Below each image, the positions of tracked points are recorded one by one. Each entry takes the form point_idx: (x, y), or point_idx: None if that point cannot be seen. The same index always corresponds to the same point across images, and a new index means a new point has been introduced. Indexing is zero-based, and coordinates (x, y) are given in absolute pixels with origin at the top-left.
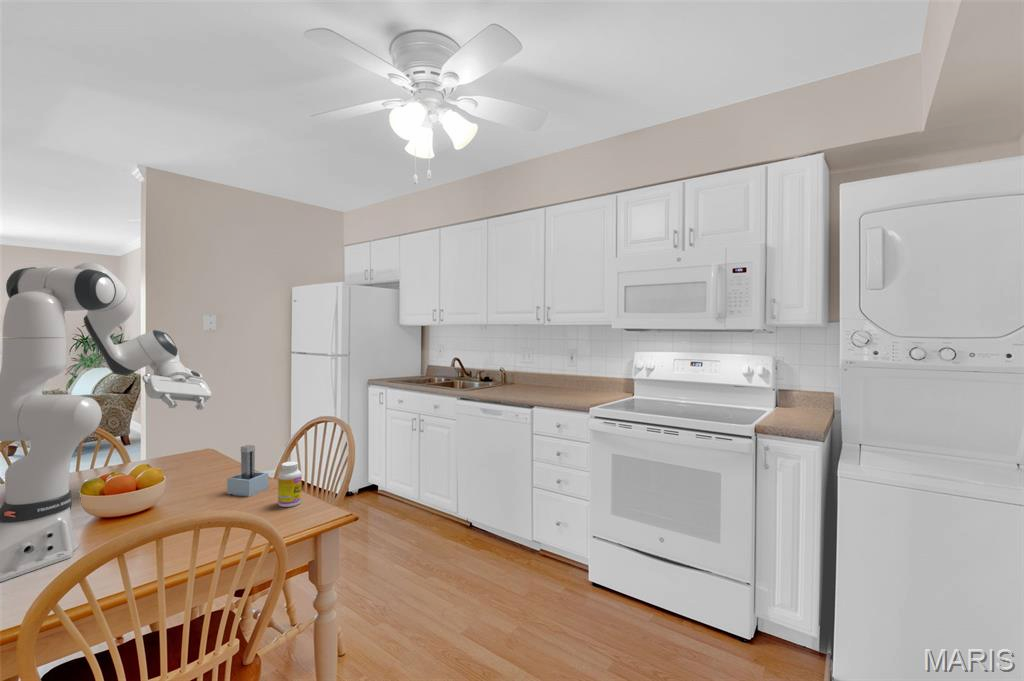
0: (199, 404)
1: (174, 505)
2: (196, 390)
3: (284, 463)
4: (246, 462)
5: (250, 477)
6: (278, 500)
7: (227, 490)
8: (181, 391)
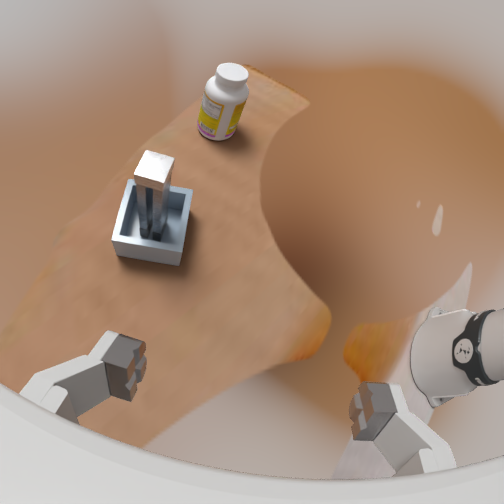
0: (133, 356)
1: (264, 335)
2: (29, 470)
3: (234, 78)
4: (169, 188)
5: (152, 210)
6: (232, 132)
7: (179, 263)
8: (305, 501)
